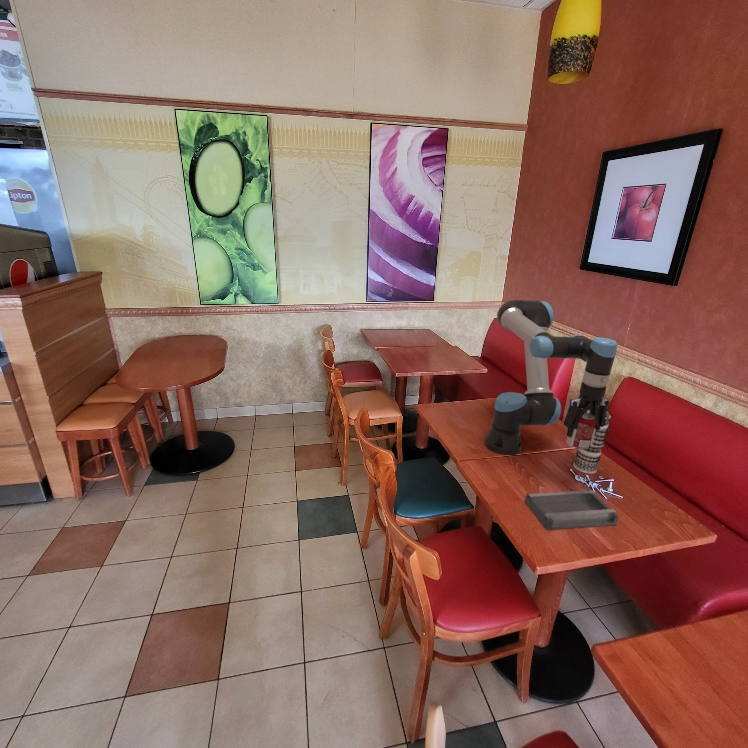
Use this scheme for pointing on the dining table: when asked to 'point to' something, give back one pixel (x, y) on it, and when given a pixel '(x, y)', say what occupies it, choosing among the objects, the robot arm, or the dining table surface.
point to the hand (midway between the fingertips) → (578, 444)
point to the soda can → (584, 431)
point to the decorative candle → (592, 450)
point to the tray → (571, 509)
